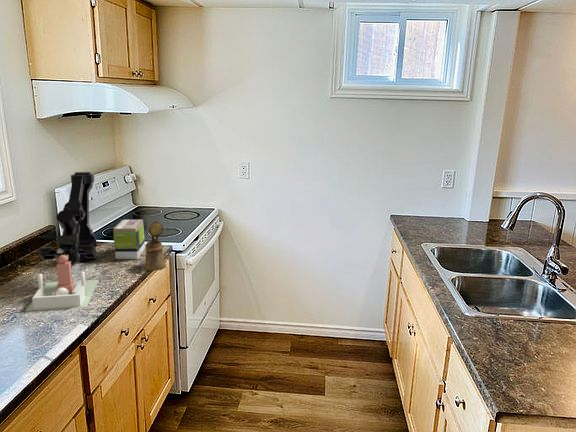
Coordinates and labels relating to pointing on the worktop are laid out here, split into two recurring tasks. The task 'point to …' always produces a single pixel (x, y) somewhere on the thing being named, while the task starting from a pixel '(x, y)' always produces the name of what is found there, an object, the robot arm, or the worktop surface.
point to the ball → (62, 291)
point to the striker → (65, 274)
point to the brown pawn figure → (155, 249)
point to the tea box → (129, 239)
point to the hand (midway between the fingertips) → (66, 273)
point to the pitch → (52, 288)
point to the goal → (58, 296)
